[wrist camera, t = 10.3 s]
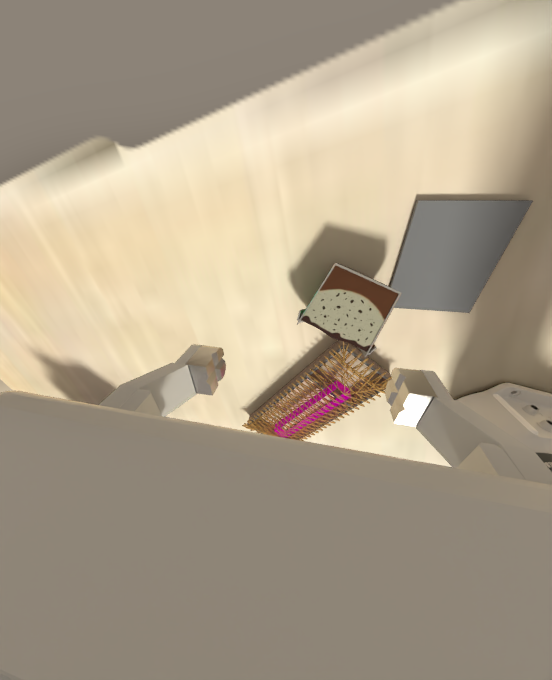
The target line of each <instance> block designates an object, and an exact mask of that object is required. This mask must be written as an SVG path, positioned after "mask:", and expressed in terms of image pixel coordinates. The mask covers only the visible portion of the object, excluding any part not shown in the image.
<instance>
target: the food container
mask: <svg viewBox="0 0 552 680" xmlns="http://www.w3.org/2000/svg"><path fill="white" fill-rule="evenodd" d="M401 294H402V293H401V292H399V291H397V290H395V289H393V288H391V287H389V286H387V285H385V284H383V283H380V282H378V281H376V280H374V279H372V278H370V277H367V276H365V275H363V274H361V273H359V272H356V271H354V270H352V269H350V268H347V267H345V266H343V265H340V264H338V263H335V264H334V265H333V267H332V268H331V270H330V272H329V273H328V275H327V276H326V278H325V280H324V281H323V283H322V284H321V286H320V288H319V289H318V291H317V292H316V294H315V295H314V297H313V299H312V300H311V302H310V303H309V305H308V307H307V308H306V309H302V310H300V311H299V315H298V319H297V320H298V323H297V325H298V324H299V323H300V322H306V323H308V324H310V325H312V326H314V327H316V328H318V329H320V330H321V331H323V332H324V333H326V334H327V335H329V336H330V337H332V338H334V339H337V340H340V341H343V342H346V343H349V344H352V345H354V346H356V347H358V348H359V349H360V350H361V352H362V353H363V355H364V357H366V356H367V355H368V354H369V355H370V354H371V353H372V352H373V351H374V350H375V349H376V346H375V345H374V342H375V340H376V339H377V337H378V335H379V333H380V331H381V330H382V328H383V326H384V324H385V322H386V321H387V319H388V317H389V315H390V313H391V312H392V310H393V308H394V306H395V304H396V303H397V301H398V299H399V297H400V296H401Z"/></svg>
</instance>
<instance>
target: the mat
mask: <svg viewBox="0 0 552 680" xmlns="http://www.w3.org/2000/svg"><path fill="white" fill-rule="evenodd" d="M532 202H533V201H416V204H415V207H414V210H413V214H412V217H411V220H410V223H409V226H408V230H407V233H406V236H405V239H404V242H403V246H402V249H401V252H400V255H399V258H398V262H397V265H396V268H395V271H394V275H393V278H392V281H391V284H390V287H391V288H393V289H395V290H397V291H399V292H401V293H402V294H401V296H400V297H399V299H398V301H397V303H396V304H395V306H394V308H406V309H421V310H435V311H450V312H465V313H469V312H470V311H471V309H472V307H473V305H474V304H475V302H476V300H477V298H478V297H479V295H480V293H481V291H482V290H483V288H484V286H485V284H486V283H487V281H488V279H489V277H490V276H491V274H492V272H493V270H494V268H495V267H496V265H497V263H498V261H499V260H500V258H501V256H502V254H503V253H504V251H505V249H506V247H507V246H508V244H509V242H510V240H511V239H512V237H513V235H514V233H515V231H516V230H517V228H518V226H519V224H520V223H521V221H522V219H523V217H524V216H525V214H526V212H527V210H528V209H529V207H530V205H531V203H532Z"/></svg>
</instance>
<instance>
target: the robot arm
mask: <svg viewBox="0 0 552 680" xmlns="http://www.w3.org/2000/svg"><path fill="white" fill-rule="evenodd" d="M223 355H224V352H223V349H222V348H219V347H212V346H205V345H196V344H193V345H191V346H190V347H189V348H188V349H187V351H186V352H185V353H184V354H183V355H182V356H181V357H180V358H179V359H178V360H177V361H176V362H175V363H170V364H168V365H166V366H163V367H161V368H159V369H156V370H154V371H152V372H150V373H147V374H145V375H143V376H140V377H138V378H136V379H133V380H131V381H129V382H126V383H124V384H122V385H120V386H119V387H118V388H117V389H115V390H114V391H113V392H112V393H111V394H110V395H109V396H108V397H107V398H105V399H104V400H103V401H102V402H101V403H100V404H99V405H95V404H89V403H83V402H78V401H72V400H66V399H61V398H55V397H49V396H43V395H38V394H33V393H28V392H23V391H5V392H1V393H0V680H552V394H550V393H547V392H543V391H539V390H535V389H531V388H527V387H523V386H520V385H516V384H512V383H502V384H499V385H497V386H495V387H493V388H491V389H489V390H486V391H483V392H479V393H475V394H471V395H468V396H465V397H462V398H459V399H457V400H453V398H452V397H451V395H450V394H449V392H448V391H447V389H446V388H445V386H444V385H443V383H442V382H441V381H440V379H439V378H438V376H437V375H436V373H435V372H433V371H425V370H411V369H402V368H394V369H393V370H392V373H391V376H392V379H391V380H390V381H388V383H387V385H386V391H385V394H386V399H387V402H388V403H389V404H390V405H391V406H392V407H391V409H390V412H391V415H392V418H393V421H394V423H397V424H403V425H408V426H414V427H416V429H417V430H418V431H419V432H420V433H421V434H422V435H423V436H424V437H425V438H426V439H427V440H428V441H429V442H430V444H431V445H432V446H433V447H434V448H435V449H436V450H437V451H438V452H439V453H440V454H441V455H442V456H443V457H444V459H445V460H446V461H447V462H448V463H449V464H450V465H451V466H452V467H447V466H442V465H436V464H430V463H425V462H419V461H413V460H408V459H402V458H396V457H391V456H385V455H379V454H374V453H368V452H362V451H356V450H351V449H345V448H339V447H334V446H328V445H322V444H317V443H311V442H305V441H300V440H294V439H288V438H283V437H277V436H271V435H266V434H260V433H254V432H248V431H243V430H237V429H231V428H226V427H220V426H214V425H209V424H203V423H197V422H192V421H186V420H180V419H175V418H169V417H165V416H167V415H168V414H169V413H171V412H172V411H174V410H175V409H176V408H178V407H179V406H181V405H182V404H183V403H185V402H186V401H188V400H189V399H190V398H192V397H193V396H195V395H196V393H198V394H206V395H213V394H214V392H215V390H216V389H217V387H218V381H220V380H221V379H222V378H223V376H224V374H225V370H226V364H225V361H224V360H223V358H222V357H223Z"/></svg>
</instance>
